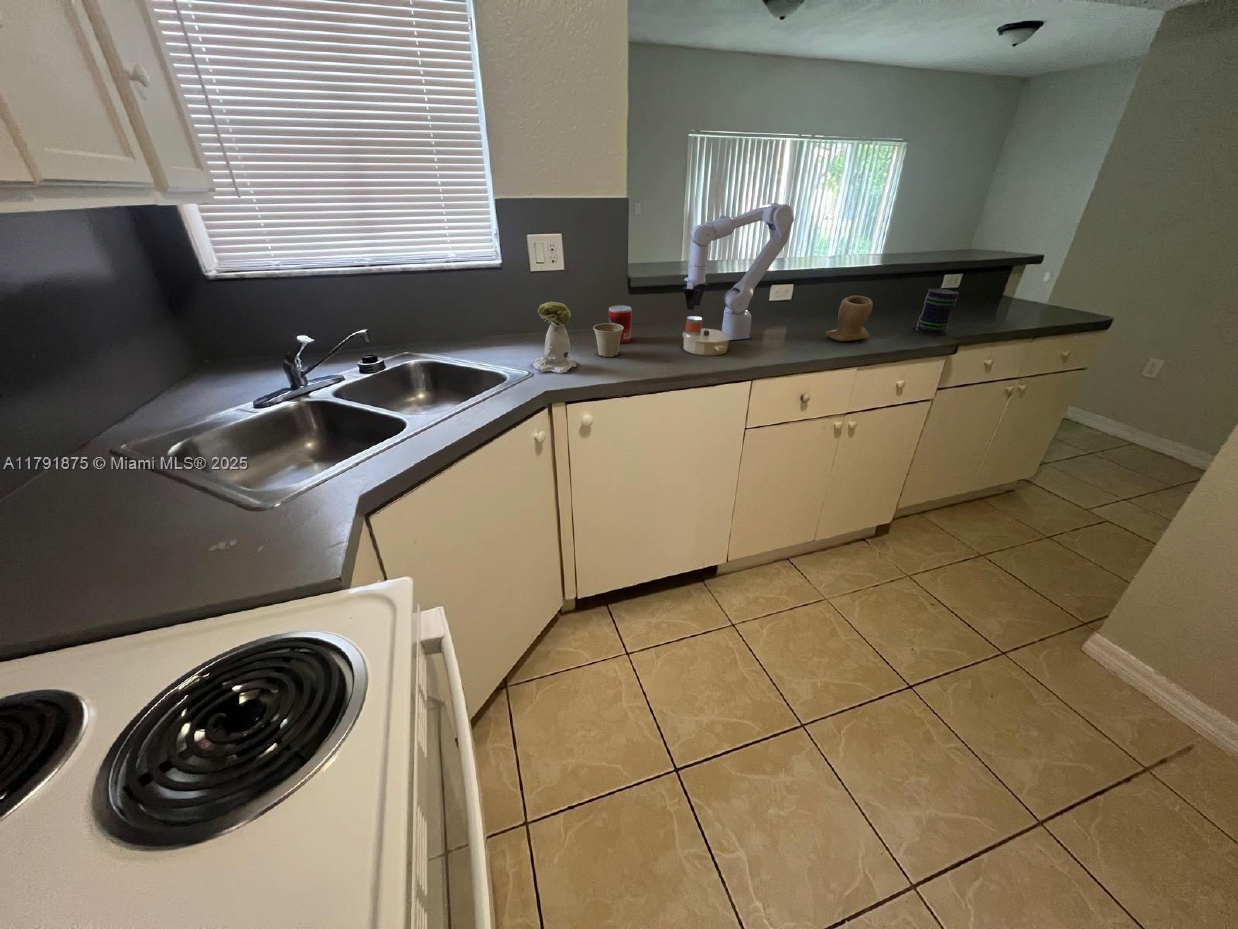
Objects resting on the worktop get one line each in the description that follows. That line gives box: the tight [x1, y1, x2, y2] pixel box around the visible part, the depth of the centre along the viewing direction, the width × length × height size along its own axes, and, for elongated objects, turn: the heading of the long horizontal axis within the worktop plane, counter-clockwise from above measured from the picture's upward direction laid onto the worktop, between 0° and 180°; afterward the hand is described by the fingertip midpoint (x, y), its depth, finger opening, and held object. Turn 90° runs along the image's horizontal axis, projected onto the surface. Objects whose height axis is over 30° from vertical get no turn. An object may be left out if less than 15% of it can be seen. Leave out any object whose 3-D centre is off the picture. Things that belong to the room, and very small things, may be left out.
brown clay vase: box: [825, 295, 873, 342], centre depth 170 cm, size 15×12×15 cm
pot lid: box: [682, 328, 731, 344], centre depth 159 cm, size 16×16×3 cm
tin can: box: [685, 315, 703, 335], centre depth 160 cm, size 5×5×5 cm
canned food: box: [608, 304, 633, 345], centre depth 165 cm, size 8×8×11 cm
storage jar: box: [915, 287, 960, 336], centre depth 182 cm, size 10×10×15 cm
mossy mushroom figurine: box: [532, 301, 578, 374], centre depth 139 cm, size 12×13×18 cm
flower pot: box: [592, 322, 624, 358], centre depth 152 cm, size 9×9×9 cm
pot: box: [682, 336, 730, 356], centre depth 161 cm, size 15×20×4 cm
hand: (693, 307), depth 168 cm, fingers open, 7 cm apart
